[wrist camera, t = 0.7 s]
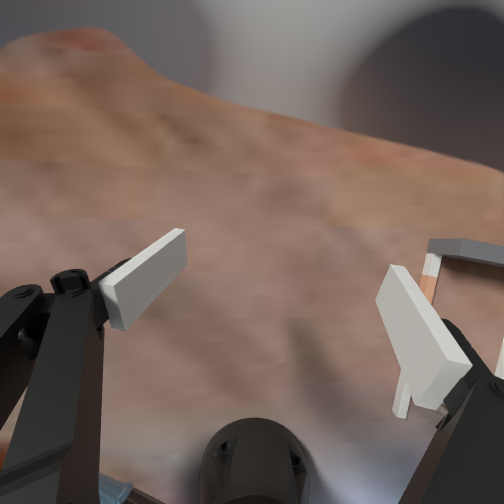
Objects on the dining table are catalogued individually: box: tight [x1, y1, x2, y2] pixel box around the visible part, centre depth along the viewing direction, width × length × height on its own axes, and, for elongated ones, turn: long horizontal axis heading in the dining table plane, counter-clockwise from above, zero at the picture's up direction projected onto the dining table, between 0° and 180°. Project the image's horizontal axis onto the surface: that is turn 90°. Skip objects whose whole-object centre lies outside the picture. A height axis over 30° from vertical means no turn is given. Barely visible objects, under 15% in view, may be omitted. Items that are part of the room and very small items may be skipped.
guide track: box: [392, 239, 504, 419], centre depth 30 cm, size 25×14×5 cm, turn 169°
